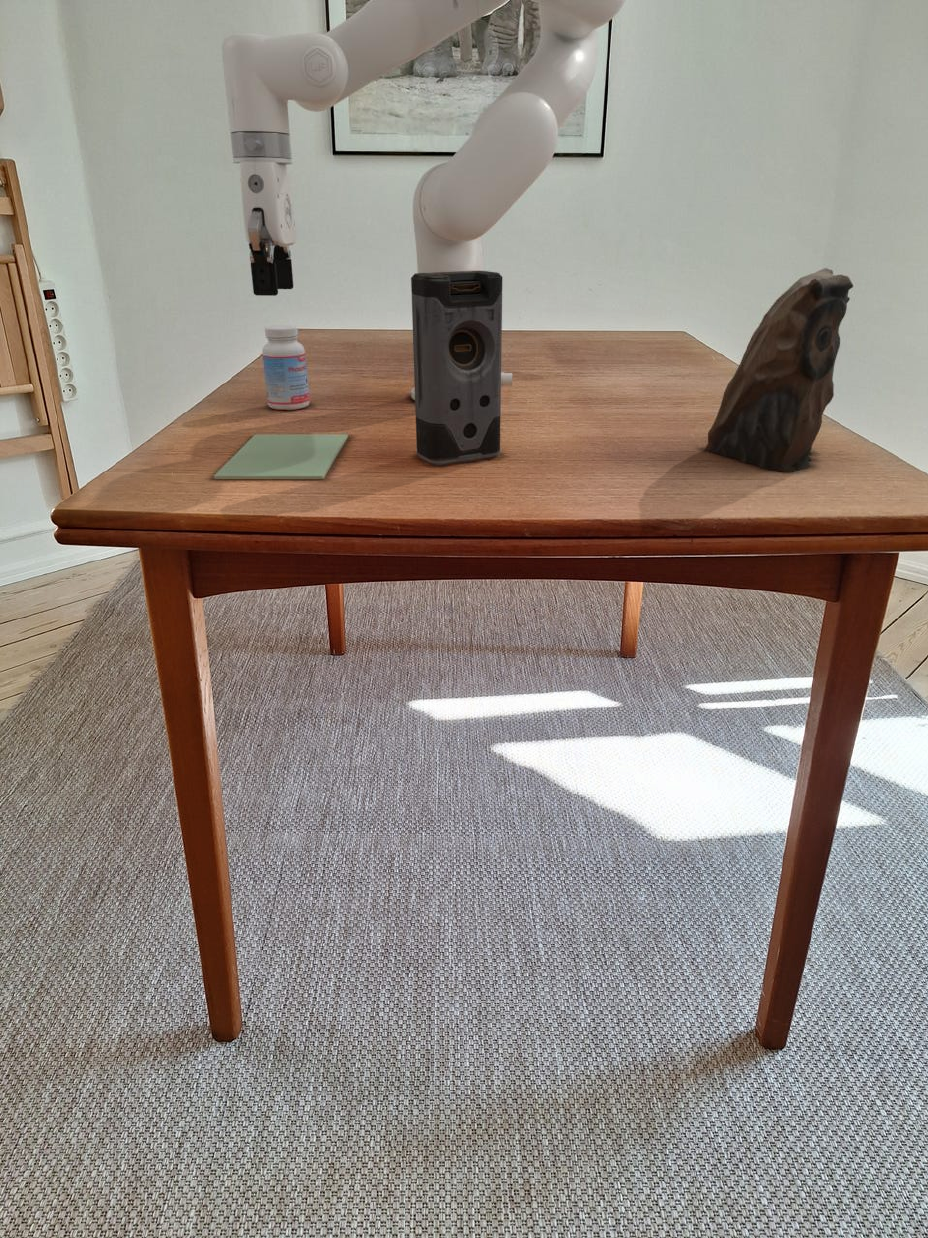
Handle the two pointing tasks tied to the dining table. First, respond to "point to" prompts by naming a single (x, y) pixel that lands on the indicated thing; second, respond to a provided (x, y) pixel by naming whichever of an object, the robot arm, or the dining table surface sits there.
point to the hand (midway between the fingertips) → (274, 291)
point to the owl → (784, 378)
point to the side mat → (284, 457)
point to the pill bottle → (285, 369)
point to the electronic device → (457, 365)
